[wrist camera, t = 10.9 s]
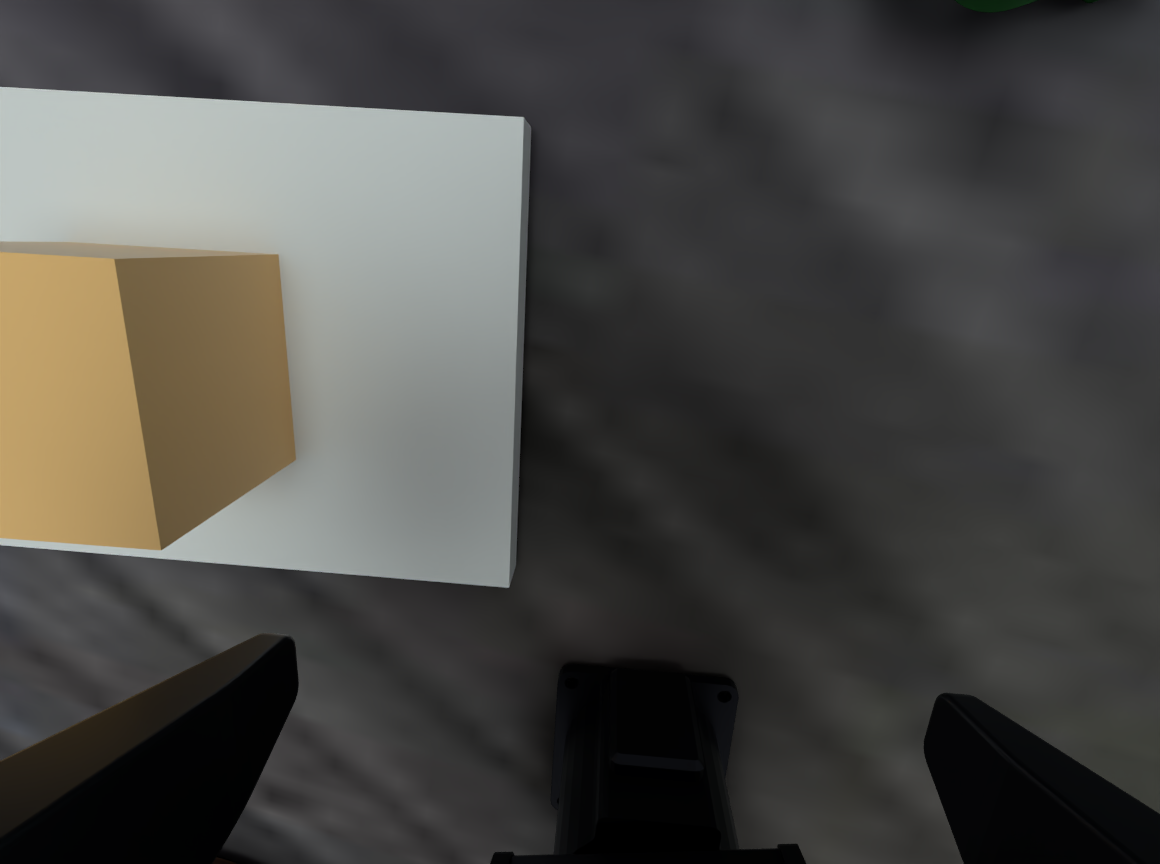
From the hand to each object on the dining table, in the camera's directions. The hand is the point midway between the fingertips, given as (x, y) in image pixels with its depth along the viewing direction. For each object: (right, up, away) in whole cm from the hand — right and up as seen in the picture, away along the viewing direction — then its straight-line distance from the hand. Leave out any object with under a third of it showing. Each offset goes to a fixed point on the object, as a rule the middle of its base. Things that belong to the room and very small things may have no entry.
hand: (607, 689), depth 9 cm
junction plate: (-12, +6, +11) cm, 18 cm away
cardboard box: (-12, +6, +10) cm, 17 cm away
